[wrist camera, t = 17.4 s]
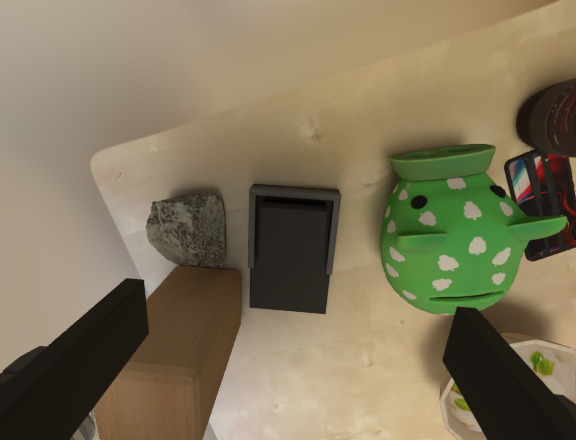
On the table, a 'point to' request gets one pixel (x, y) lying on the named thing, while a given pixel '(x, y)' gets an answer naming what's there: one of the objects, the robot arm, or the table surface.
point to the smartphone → (544, 197)
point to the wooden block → (176, 359)
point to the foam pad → (292, 234)
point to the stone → (188, 229)
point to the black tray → (287, 282)
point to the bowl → (537, 355)
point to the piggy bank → (454, 230)
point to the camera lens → (550, 120)
